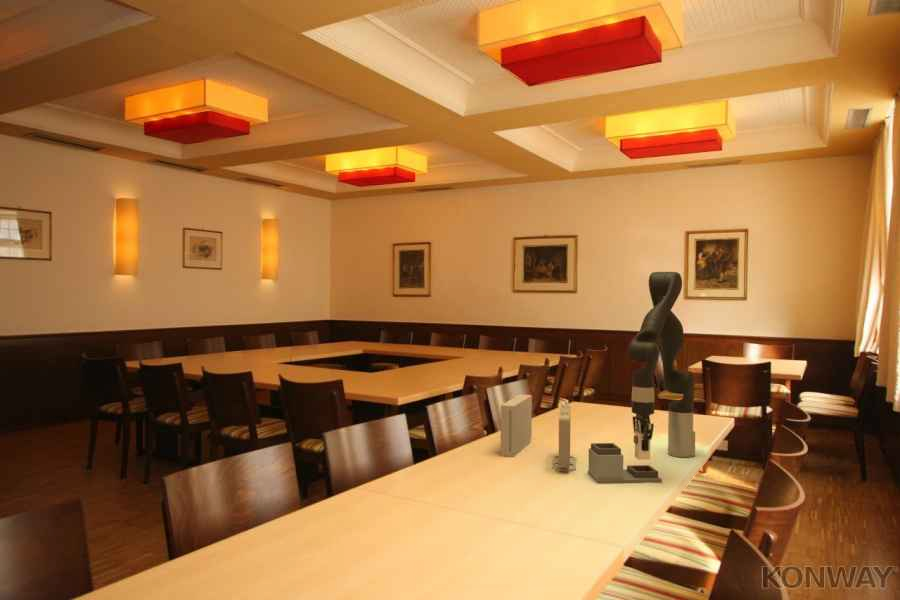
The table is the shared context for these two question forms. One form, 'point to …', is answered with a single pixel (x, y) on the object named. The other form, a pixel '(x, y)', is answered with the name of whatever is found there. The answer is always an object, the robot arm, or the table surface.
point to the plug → (640, 447)
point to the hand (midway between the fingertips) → (642, 448)
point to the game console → (516, 424)
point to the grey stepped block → (616, 466)
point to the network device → (564, 441)
